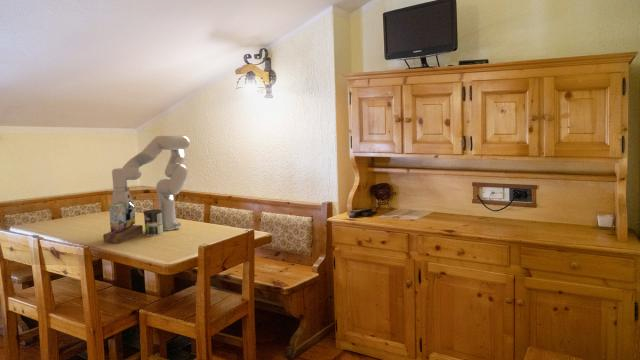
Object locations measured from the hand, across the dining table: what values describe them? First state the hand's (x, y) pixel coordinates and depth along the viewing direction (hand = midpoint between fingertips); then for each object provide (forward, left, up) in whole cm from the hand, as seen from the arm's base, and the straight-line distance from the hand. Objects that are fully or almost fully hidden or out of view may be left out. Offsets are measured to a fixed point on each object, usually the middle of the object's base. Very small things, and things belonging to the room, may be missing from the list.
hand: (123, 219), depth 266 cm
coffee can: (-13, -11, -11) cm, 20 cm away
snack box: (0, 0, -5) cm, 5 cm away
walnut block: (0, 0, -11) cm, 11 cm away
